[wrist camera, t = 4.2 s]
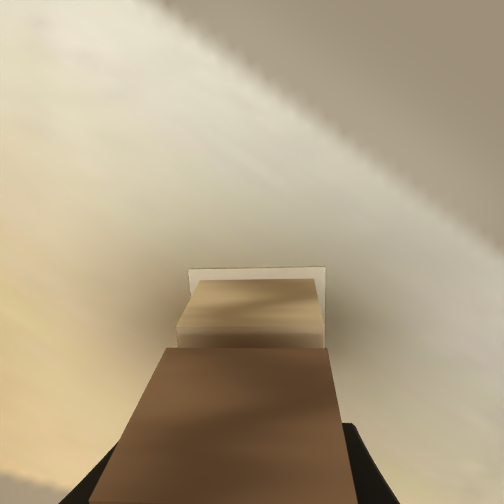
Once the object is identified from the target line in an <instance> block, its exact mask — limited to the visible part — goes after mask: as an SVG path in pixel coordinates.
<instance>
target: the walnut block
mask: <svg viewBox="0 0 504 504" xmlns="http://www.w3.org/2000/svg"><path fill="white" fill-rule="evenodd" d="M89 504H358V502H357V497H356V492H355V487H354V482H353V477H352V472H351V467H350V462H349V457H348V452H347V447H346V442H345V437H344V432H343V427H342V422H341V417H340V412H339V407H338V402H337V397H336V392H335V387H334V382H333V377H332V372H331V367H330V362H329V357H328V351H327V348H166V350H165V352H164V354H163V356H162V358H161V360H160V362H159V364H158V366H157V368H156V370H155V371H154V373H153V375H152V377H151V379H150V381H149V383H148V385H147V387H146V389H145V391H144V393H143V395H142V397H141V399H140V401H139V403H138V405H137V407H136V409H135V411H134V413H133V415H132V416H131V418H130V420H129V422H128V424H127V426H126V428H125V430H124V432H123V434H122V436H121V438H120V440H119V442H118V444H117V446H116V448H115V450H114V452H113V454H112V456H111V458H110V460H109V461H108V463H107V465H106V467H105V469H104V471H103V473H102V475H101V477H100V479H99V481H98V483H97V485H96V487H95V489H94V491H93V493H92V495H91V497H90V499H89Z"/></svg>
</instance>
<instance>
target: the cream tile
mask: <svg viewBox="0 0 504 504" xmlns="http://www.w3.org/2000/svg"><path fill="white" fill-rule="evenodd" d="M188 276H189V284H190V293H191V297H192V295H193V293H194V291H195V289H196V287H197V285H198V283H199V281H200V280H249V279H314V282H315V287H316V291H317V296H318V301H319V306H320V311H321V316H322V320H323V325H324V340H323V348H324V344H325V282H326V267H280V268H224V269H188Z"/></svg>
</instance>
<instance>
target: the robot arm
mask: <svg viewBox="0 0 504 504" xmlns="http://www.w3.org/2000/svg"><path fill="white" fill-rule="evenodd" d="M342 427H343V432H344V437H345V442H346V447H347V452H348V457H349V462H350V467H351V472H352V477H353V482H354V487H355V492H356V497H357V502H358V504H400V503H399V501H398V500H397V498H396V497H395V495H394V493H393V492H392V490H391V489H390V487H389V486H388V484H387V483H386V481H385V479H384V478H383V476H382V475H381V473H380V471H379V470H378V468H377V466H376V464H375V463H374V461H373V459H372V457H371V456H370V454H369V452H368V450H367V448H366V447H365V445H364V443H363V441H362V439H361V437H360V435H359V433H358V431H357V429H356V427H355V426H354V425H353V424H352V423H342ZM118 442H119V441H118ZM118 442H117V443H116V444H115V446H114V447H113V448H112V449H111V450H110V451H109V452H108V453H107V454H106V455H105V456H104V458H103V459H102V460H101V461H100V462H99V463H98V464H97V465H96V466H95V467H94V468H93V469H92V470H91V471H90V472H89V473H88V475H87V476H86V477H85V478H84V479H83V480H82V481H81V482H80V483H79V484H78V485H77V486H76V487H75V488H74V489H73V490H72V491H71V492H70V493H69V494H68V495H67V496H66V497H65V498H64V499H63V500H62V501H61V502H60V503H59V504H89V499H90V497H91V495H92V493H93V491H94V489H95V487H96V485H97V483H98V481H99V479H100V477H101V475H102V473H103V471H104V469H105V467H106V465H107V463H108V461H109V460H110V458H111V456H112V454H113V452H114V450H115V448H116V446H117V444H118Z"/></svg>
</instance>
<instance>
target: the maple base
mask: <svg viewBox="0 0 504 504" xmlns="http://www.w3.org/2000/svg"><path fill="white" fill-rule="evenodd" d="M176 334H177V341H178V348H323V340H324V325H323V320H322V316H321V311H320V306H319V301H318V296H317V291H316V287H315V282H314V279H249V280H200V281H199V283H198V285H197V287H196V289H195V291H194V293H193V295H192V297H191V298H190V300H189V302H188V304H187V306H186V308H185V310H184V312H183V314H182V316H181V317H180V319H179V321H178V323H177V325H176Z"/></svg>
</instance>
